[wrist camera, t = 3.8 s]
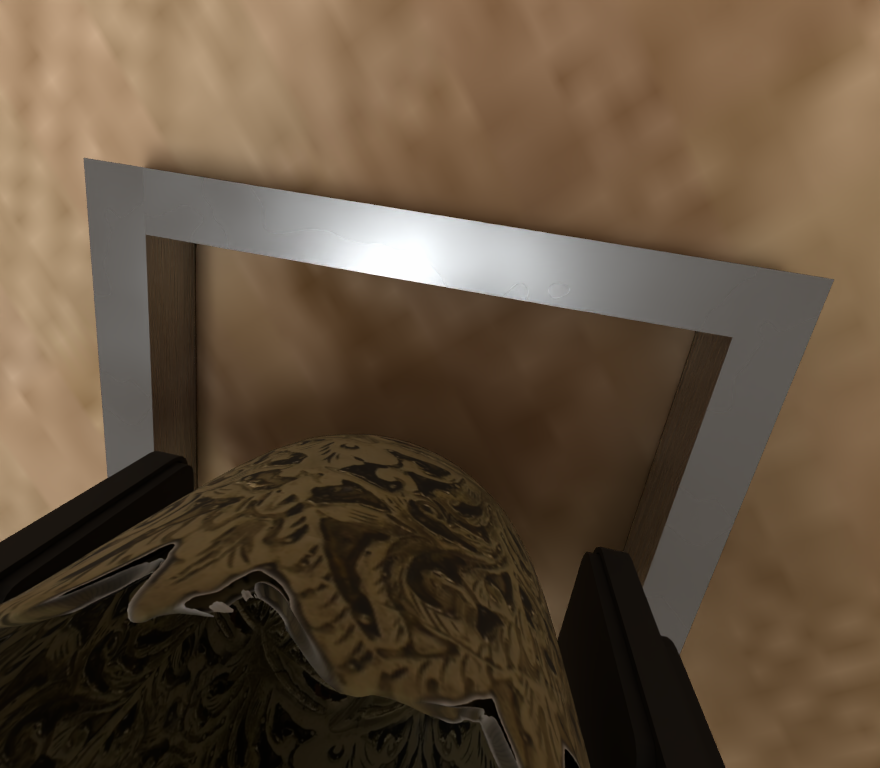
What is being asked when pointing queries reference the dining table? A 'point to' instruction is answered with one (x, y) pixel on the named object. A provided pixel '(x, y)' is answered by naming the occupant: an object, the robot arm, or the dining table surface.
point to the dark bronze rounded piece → (296, 629)
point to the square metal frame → (471, 269)
